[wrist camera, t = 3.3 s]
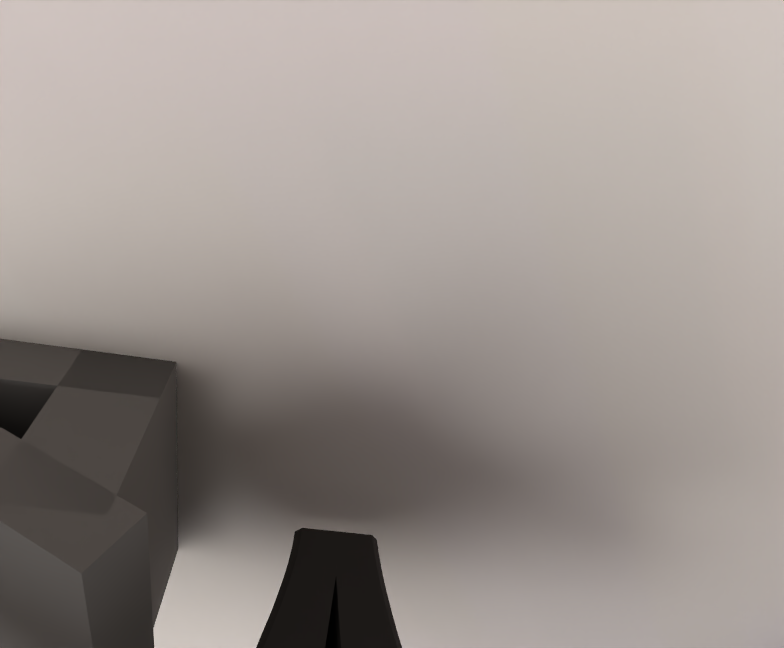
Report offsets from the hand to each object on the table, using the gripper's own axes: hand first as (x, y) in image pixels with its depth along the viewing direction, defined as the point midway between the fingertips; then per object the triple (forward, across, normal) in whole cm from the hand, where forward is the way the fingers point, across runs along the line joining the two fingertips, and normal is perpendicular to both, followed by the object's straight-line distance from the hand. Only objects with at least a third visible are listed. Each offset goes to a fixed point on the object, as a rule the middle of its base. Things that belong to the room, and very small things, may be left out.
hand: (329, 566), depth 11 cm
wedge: (+2, +6, 0) cm, 6 cm away
